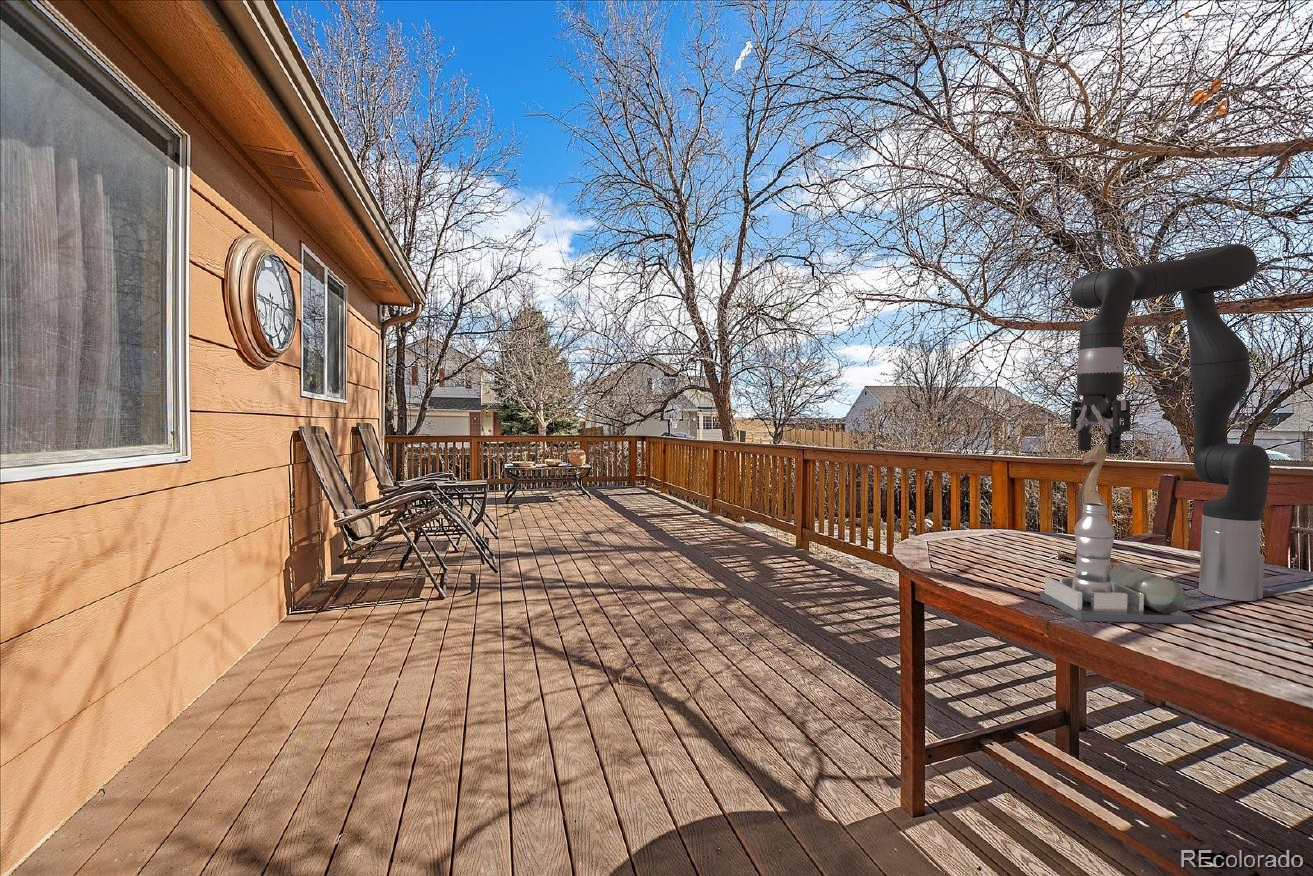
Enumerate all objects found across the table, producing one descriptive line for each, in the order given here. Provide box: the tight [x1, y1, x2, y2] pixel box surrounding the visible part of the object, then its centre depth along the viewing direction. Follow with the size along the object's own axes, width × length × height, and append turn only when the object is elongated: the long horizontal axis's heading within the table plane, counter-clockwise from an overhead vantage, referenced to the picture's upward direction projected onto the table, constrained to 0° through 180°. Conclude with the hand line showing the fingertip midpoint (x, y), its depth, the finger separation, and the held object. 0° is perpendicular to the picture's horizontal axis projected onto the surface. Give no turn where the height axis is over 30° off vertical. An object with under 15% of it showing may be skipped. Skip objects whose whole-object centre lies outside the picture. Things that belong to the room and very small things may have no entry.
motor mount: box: [1039, 563, 1193, 625], centre depth 120 cm, size 20×14×8 cm
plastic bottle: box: [1072, 503, 1116, 603], centre depth 119 cm, size 6×7×20 cm
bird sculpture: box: [1057, 444, 1127, 570], centre depth 152 cm, size 11×12×32 cm
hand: (1097, 452), depth 119 cm, fingers open, 8 cm apart
